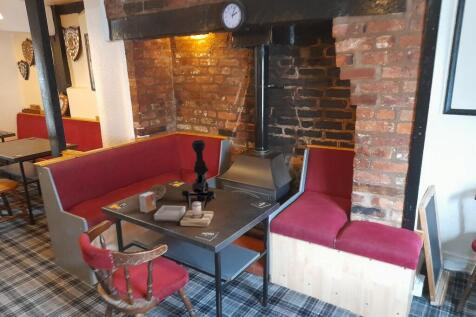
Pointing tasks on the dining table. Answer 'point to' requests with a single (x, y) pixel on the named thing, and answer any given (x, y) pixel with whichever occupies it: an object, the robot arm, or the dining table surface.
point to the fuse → (197, 210)
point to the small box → (147, 202)
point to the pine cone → (158, 191)
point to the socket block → (204, 222)
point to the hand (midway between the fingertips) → (196, 208)
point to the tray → (169, 213)
